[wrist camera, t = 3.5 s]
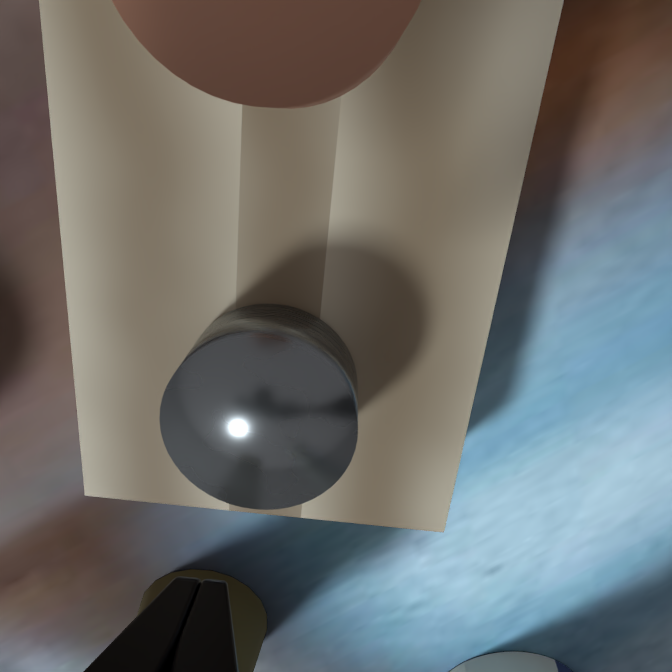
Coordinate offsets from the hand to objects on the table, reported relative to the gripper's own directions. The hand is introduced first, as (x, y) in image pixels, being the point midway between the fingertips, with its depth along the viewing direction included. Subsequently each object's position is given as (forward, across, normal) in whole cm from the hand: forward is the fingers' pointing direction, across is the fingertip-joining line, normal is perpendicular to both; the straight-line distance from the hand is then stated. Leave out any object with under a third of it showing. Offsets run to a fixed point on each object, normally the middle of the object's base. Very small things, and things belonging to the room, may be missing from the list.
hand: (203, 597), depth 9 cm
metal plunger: (+12, 0, 0) cm, 12 cm away
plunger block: (+12, 0, -5) cm, 13 cm away
